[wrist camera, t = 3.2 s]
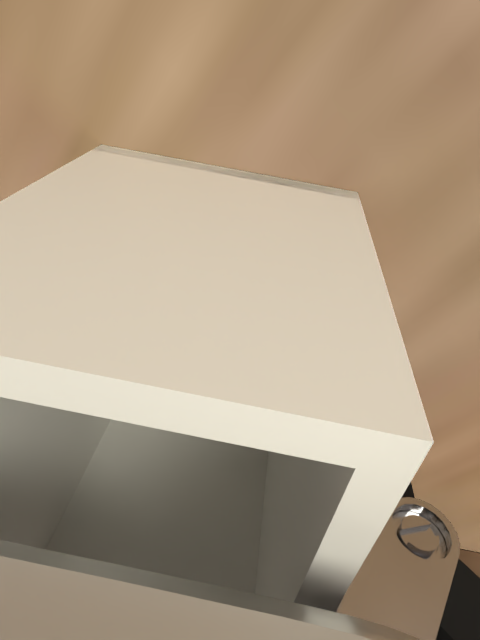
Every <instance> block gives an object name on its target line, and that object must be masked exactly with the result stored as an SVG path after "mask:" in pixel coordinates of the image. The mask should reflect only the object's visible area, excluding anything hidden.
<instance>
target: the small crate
mask: <svg viewBox="0 0 480 640" xmlns="http://www.w3.org/2000/svg"><path fill="white" fill-rule="evenodd" d="M433 443H434V441H433V438H432V434H431V431H430V428H429V425H428V421H427V418H426V415H425V411H424V408H423V405H422V402H421V398H420V395H419V392H418V389H417V385H416V382H415V379H414V375H413V372H412V369H411V366H410V362H409V359H408V356H407V352H406V349H405V346H404V343H403V339H402V336H401V333H400V329H399V326H398V323H397V320H396V316H395V313H394V310H393V307H392V303H391V300H390V297H389V293H388V290H387V287H386V284H385V280H384V277H383V274H382V270H381V267H380V264H379V261H378V257H377V254H376V251H375V248H374V244H373V241H372V238H371V234H370V231H369V228H368V225H367V221H366V218H365V215H364V211H363V208H362V205H361V202H360V198H359V195H358V192H354V191H348V190H343V189H338V188H332V187H327V186H322V185H316V184H311V183H306V182H300V181H295V180H289V179H284V178H279V177H273V176H268V175H263V174H257V173H252V172H247V171H241V170H236V169H231V168H225V167H220V166H214V165H209V164H204V163H198V162H193V161H188V160H182V159H177V158H172V157H166V156H161V155H156V154H150V153H145V152H139V151H134V150H129V149H123V148H118V147H113V146H107V145H100V146H98V147H96V148H94V149H93V150H91V151H89V152H87V153H86V154H84V155H82V156H80V157H78V158H77V159H75V160H73V161H71V162H70V163H68V164H66V165H64V166H62V167H61V168H59V169H57V170H55V171H54V172H52V173H50V174H48V175H46V176H45V177H43V178H41V179H39V180H38V181H36V182H34V183H32V184H30V185H29V186H27V187H25V188H23V189H22V190H20V191H18V192H16V193H14V194H13V195H11V196H9V197H7V198H6V199H4V200H2V201H0V540H2V541H7V542H12V543H17V544H22V545H27V546H31V547H36V548H41V549H46V550H51V551H56V552H60V553H65V554H70V555H75V556H80V557H84V558H89V559H94V560H99V561H103V562H108V563H113V564H118V565H123V566H127V567H132V568H137V569H142V570H146V571H151V572H156V573H161V574H165V575H170V576H175V577H179V578H184V579H189V580H193V581H198V582H203V583H207V584H212V585H217V586H221V587H226V588H231V589H235V590H240V591H245V592H249V593H254V594H259V595H263V596H268V597H273V598H277V599H281V600H285V601H290V602H294V603H298V604H303V605H307V606H311V607H316V608H320V609H324V610H328V611H333V612H335V610H336V608H337V606H338V605H339V603H340V601H341V600H342V598H343V596H344V594H345V593H346V591H347V589H348V588H349V586H350V584H351V583H352V581H353V579H354V577H355V576H356V574H357V572H358V571H359V569H360V567H361V566H362V564H363V562H364V560H365V559H366V557H367V555H368V554H369V552H370V550H371V549H372V547H373V545H374V543H375V542H376V540H377V538H378V537H379V535H380V533H381V531H382V530H383V528H384V526H385V525H386V523H387V521H388V520H389V518H390V516H391V514H392V513H393V511H394V509H395V508H396V506H397V504H398V503H399V501H400V499H401V497H402V496H403V494H404V492H405V491H406V489H407V487H408V485H409V484H410V482H411V480H412V479H413V477H414V475H415V474H416V472H417V470H418V468H419V467H420V465H421V463H422V462H423V460H424V458H425V457H426V455H427V453H428V451H429V450H430V448H431V446H432V445H433Z"/></svg>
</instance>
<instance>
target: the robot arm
mask: <svg viewBox="0 0 480 640" xmlns="http://www.w3.org/2000/svg"><path fill="white" fill-rule="evenodd" d="M459 555H460V542H459V538H458V535H457V532H456V531H455V529H454V527H453V525H452V524H451V522H450V521H449V520H448V519H447V518H446V517H445V515H444V514H443V513H442V512H440V511H439V510H438V509H436V508H435V507H434V506H432V505H431V504H429V503H427V502H425V501H422V500H420V499H416V498H414V493H413V489H412V485H411V482H410V484H409V485H408V487H407V489H406V491H405V492H404V494H403V496H402V497H401V499H400V501H399V503H398V504H397V506H396V508H395V509H394V511H393V513H392V514H391V516H390V518H389V520H388V521H387V523H386V525H385V526H384V528H383V530H382V531H381V533H380V535H379V537H378V538H377V540H376V542H375V543H374V545H373V547H372V549H371V550H370V552H369V554H368V555H367V557H366V559H365V560H364V562H363V564H362V566H361V567H360V569H359V571H358V572H357V574H356V576H355V577H354V579H353V581H352V583H351V584H350V586H349V588H348V589H347V591H346V593H345V594H344V596H343V598H342V600H341V601H340V603H339V605H338V606H337V608H336V610H335V612H333V611H328V610H324V609H320V608H316V607H311V606H307V605H303V604H298V603H294V602H290V601H285V600H281V599H277V598H273V597H268V596H263V595H259V594H254V593H249V592H245V591H240V590H235V589H231V588H226V587H221V586H217V585H212V584H207V583H203V582H198V581H193V580H189V579H184V578H179V577H175V576H170V575H165V574H161V573H156V572H151V571H146V570H142V569H137V568H132V567H127V566H123V565H118V564H113V563H108V562H103V561H99V560H94V559H89V558H84V557H80V556H75V555H70V554H65V553H60V552H56V551H51V550H46V549H41V548H36V547H31V546H27V545H22V544H17V543H12V542H7V541H2V540H0V640H480V578H479V577H478V576H477V575H476V574H475V573H474V572H473V571H472V570H471V569H470V568H469V567H468V566H466V565H465V564H464V563H463V562H462V561H461V560H460V559H459Z"/></svg>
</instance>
